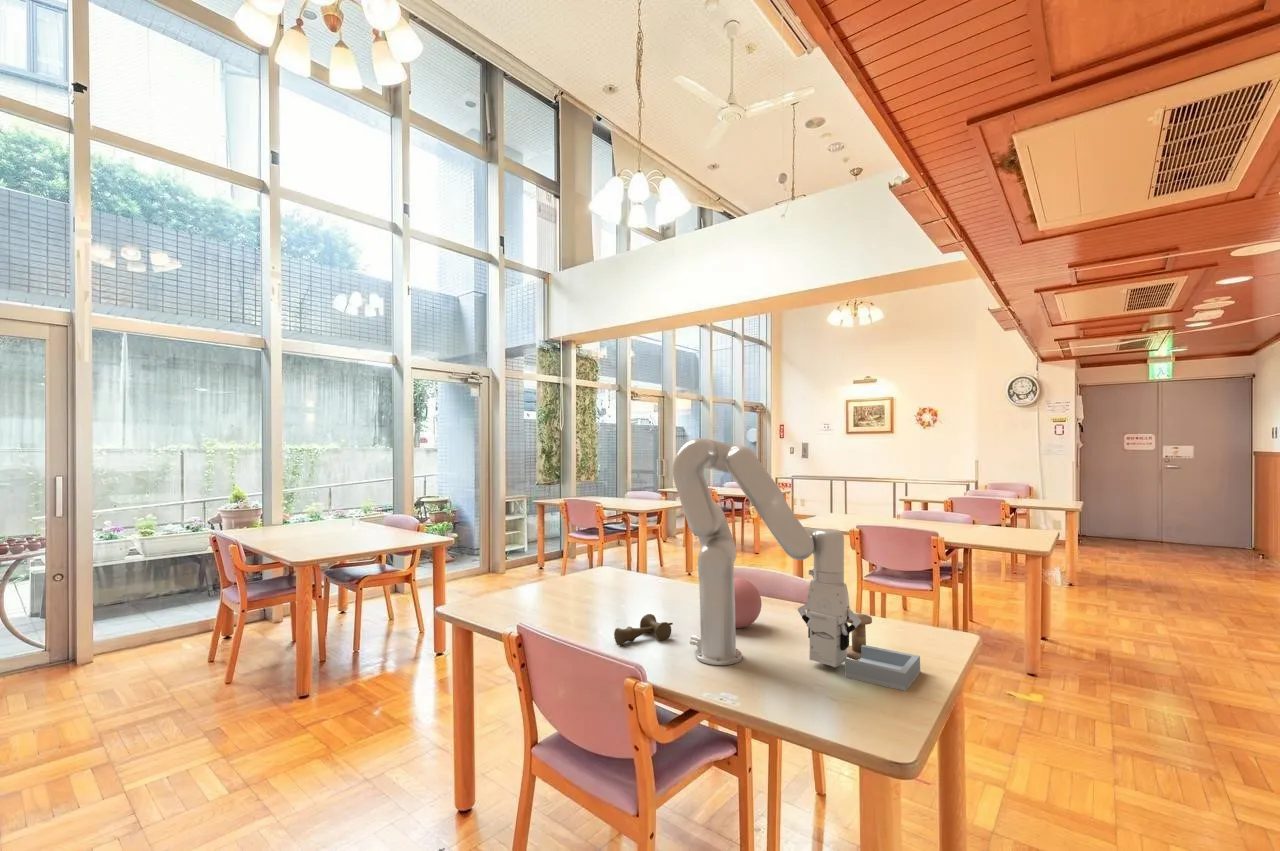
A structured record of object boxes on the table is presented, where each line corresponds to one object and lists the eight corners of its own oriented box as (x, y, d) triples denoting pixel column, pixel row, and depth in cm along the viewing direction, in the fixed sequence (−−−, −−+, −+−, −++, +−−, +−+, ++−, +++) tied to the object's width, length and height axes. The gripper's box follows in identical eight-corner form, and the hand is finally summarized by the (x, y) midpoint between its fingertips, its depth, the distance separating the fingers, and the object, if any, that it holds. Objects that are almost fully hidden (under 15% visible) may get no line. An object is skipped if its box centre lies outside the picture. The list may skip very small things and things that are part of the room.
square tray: (845, 676, 141) (844, 660, 141) (863, 659, 152) (862, 644, 152) (905, 691, 132) (905, 673, 132) (920, 672, 143) (919, 655, 143)
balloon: (727, 613, 196) (726, 568, 197) (772, 627, 180) (771, 578, 180) (693, 622, 187) (692, 575, 188) (737, 638, 171) (736, 586, 171)
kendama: (609, 642, 170) (664, 628, 181) (625, 653, 162) (682, 637, 173) (608, 622, 170) (663, 609, 181) (625, 632, 162) (681, 618, 173)
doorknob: (839, 656, 155) (838, 618, 155) (849, 647, 161) (848, 611, 162) (869, 662, 150) (868, 623, 150) (878, 653, 156) (877, 616, 157)
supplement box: (808, 660, 148) (808, 611, 149) (821, 653, 154) (821, 605, 154) (835, 668, 143) (836, 617, 144) (848, 660, 149) (848, 611, 149)
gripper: (791, 574, 152) (790, 641, 151) (857, 585, 141) (857, 657, 140) (802, 569, 157) (802, 634, 157) (867, 579, 147) (867, 649, 146)
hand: (828, 644), depth 148 cm, fingers closed on supplement box, 7 cm apart
